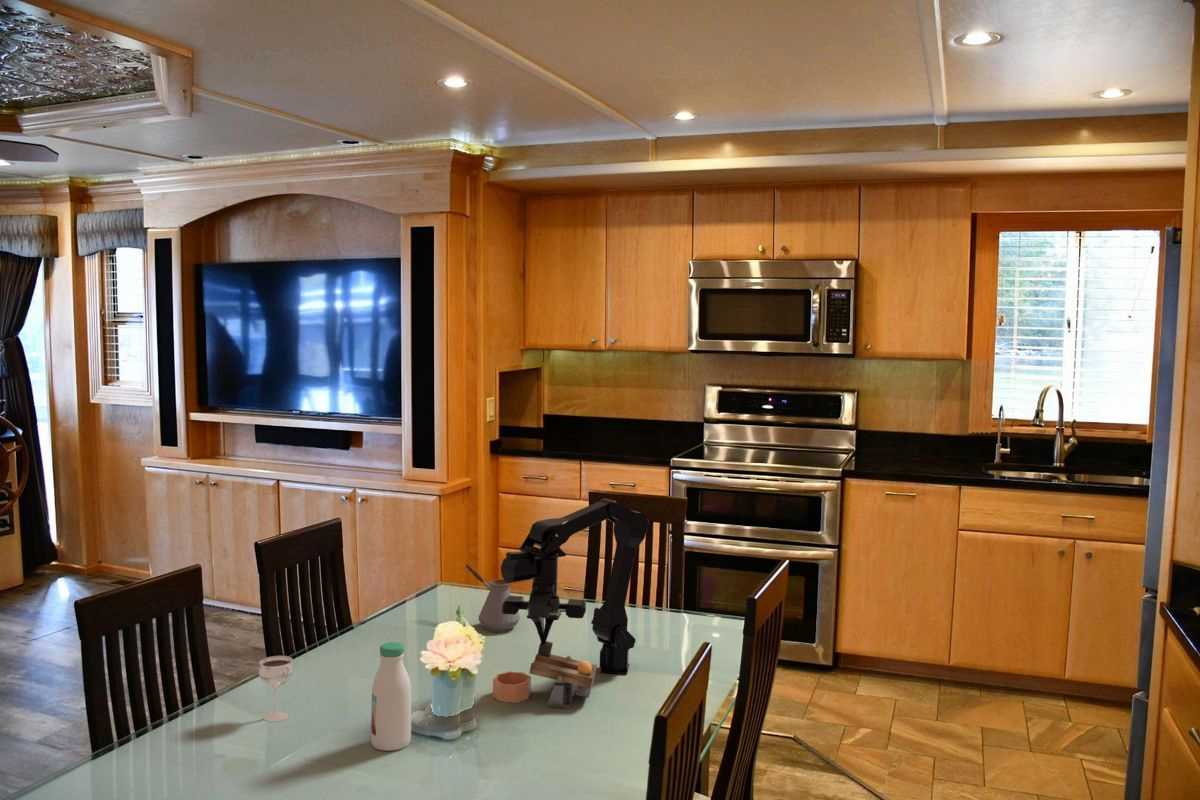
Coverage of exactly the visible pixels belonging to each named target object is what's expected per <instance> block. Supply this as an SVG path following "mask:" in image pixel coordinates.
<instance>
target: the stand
mask: <svg viewBox="0 0 1200 800" xmlns="http://www.w3.org/2000/svg"><path fill="white" fill-rule="evenodd" d="M576 690H577V685H575V684H571V683H566V682H561V683H557V681H556V682H555V683H554V685H553V689H552V692H551V694H550V696H549V699H548V701H547V703H546V708H548V709H549V708H550V709H564V710H570V708H571V706H572V703H573V701H574V697H575V694H576Z"/></svg>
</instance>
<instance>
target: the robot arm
mask: <svg viewBox="0 0 1200 800" xmlns="http://www.w3.org/2000/svg"><path fill="white" fill-rule="evenodd" d="M605 520H608V521H610V522H612V523H613V535H614V540H615V542H616V547H615V551H614V557H613V560H612V565H611V571H610V576H609V580H608V584H607V589H606V594H605V595H606V596H605V600H604V602H603V604H602V605H601V606H600V607H594V609H593V617H592V620H591V622H590V623H591V625H592V632H593V633H594V635H595V636H596V639H597V642H599V643H601V644H602V645H601V646H602V647H601V648H600V650H599V668H600V673H602V674H614V675H615V674H616V675H617V674H618V675H627V674H628V672H629V669H630V663H629V657H630V656H629V652H630V649H633V648H634V647H635V645H636V640H637V639H636V638H635V637H634V636H633V635H632V634H631V633H630V632H629V630H628V620H629V618H628V615H627V614H628V613H627V610H626V601H627V597H628V592H629V587H630V581H631V575H632V573H633V567H634V561H635V557H636V552H637V549H638V547H639V546H640V545H641V544H642V542H643V541H644V539H645V538H646V534H647V532H648V529H649V523H650V521H649V519H648V517H647V515H646V514H645V513H643V512H640V511H635V510H632V509H629V508H627V507H625V506H623V505H622V504H620V503H618V502H617V501H615V500H613V499H608V498H605V497H604V498H602V499H599V500H598V501H596V502H594V503H593V504H590V505H588V506H585V507H582V508H580V509H578V510H576V511H574V512H571V513H569V514H567V515H565V516H561V517H557V518H546V519H541V520H538V521H535V522H534V523H532V525H531V527H530V530H529V533H528V534H527V536H526V538H524V540H523V542H522V544H521V545H520V547H519V551H507V552H506V553H505V558H503V560H502V562H501V564H500V574H501V577H502V579H504V581H505V582H506V583H511V584H513V583H520V582H525V581H530V580H532V581H531V582H532V584H531V586H532V587H531V591H530V595H529V600H525V599H524V596H522V595H521V596H520V595H511V596H508V597H507V598H506V600H505V601H504V602H503V605H502V613H503V614H516V613H517V612H518V613H519V611H520V610H523V611H524V610H527V615H526V618H527V619H530V620H531V621H532V622H533V624H534V625H535V628H536V631H537V635H538V637H539V639H540V643H542V644H545V643H546V641H548V640H547V639H548V637H549V634H550V631H551V629H552V625H553V623H554V621H558V620H559V619H560V616H561V615H562V612H563V613H565V615H566V616H567V617H568V618H569V619H583V618H584V617H585V614H586V612H587V603H586V601H585V600H584V599H573V598H572V599H571V598H569V599H568V601H567V602H566V603H563V602H561V601H560V600H561V599H560V596H559V595H558V570H559V569H558V565H559V564H558V563H559V558H561V557H566V556H567V553H566V552H565V551H563V550H562V548H561V547H562V545H565V543H567V542H568V540H569V539H570V537H572V536H573V535H575V534H576V533H579V532H581V531H584V530H586V529H588V528H591V527H592V526H594V525H597V524H599V523H601V522H603V521H605ZM536 546H537V547H536ZM539 547H540V548H539Z"/></svg>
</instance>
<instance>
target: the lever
mask: <svg viewBox="0 0 1200 800" xmlns="http://www.w3.org/2000/svg"><path fill="white" fill-rule="evenodd" d="M553 644H554V643H553V642H552V641H548V640H546V643H545V644H542V643H541V642H540V644H539V646H538V651H537V654H535V658H534V660H533V662H531V663H530V668H529V672H528V675H529V674H530V675H534V676H537V677H541V678H542V677H543V678H547V679H550V680H555V681H556V682H557V683H561V682H566V683H571V684H575V685H577V690H576V693H575V695H577V696H579V697H583V698H584V697H585V698H589V697H590V695H591V692H592V689H593V686H594V682H595V679H596V673H597V669H598V664H594V663H590V664H591V666H592V671H591V673H590V674H589V675H587V676H584V675H580V674H579V672H578V665H579V664H580V663H581V662H582V661H580V660H577V659H573V658H572V656H569V655H567V656H566V657H565V656H564V657H563V656H559V655H556V654H552V648H553ZM575 695H574V696H575Z"/></svg>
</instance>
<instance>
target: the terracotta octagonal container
mask: <svg viewBox="0 0 1200 800" xmlns="http://www.w3.org/2000/svg"><path fill="white" fill-rule="evenodd" d="M531 689H532V676H530V675H529V674H527V673H525V672H522V671H504V672H501V673H497V674H496V675H495V676H494V678H493V679H492V698H494V697H495V698H496V699H495V698H494V699H495V700H497V699H498V700H500V701H505V702H504V703H508V702H517V703H519V702H518V701H521V702H524V701H528V700H529V698H530V696H531V694H532V691H531ZM530 693H531V694H530ZM527 699H528V700H527ZM498 700H497V701H498ZM523 700H524V701H523ZM500 701H499V702H500Z"/></svg>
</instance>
